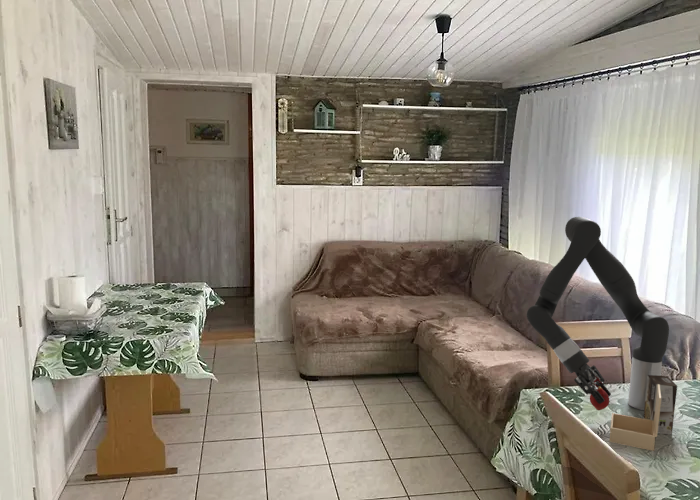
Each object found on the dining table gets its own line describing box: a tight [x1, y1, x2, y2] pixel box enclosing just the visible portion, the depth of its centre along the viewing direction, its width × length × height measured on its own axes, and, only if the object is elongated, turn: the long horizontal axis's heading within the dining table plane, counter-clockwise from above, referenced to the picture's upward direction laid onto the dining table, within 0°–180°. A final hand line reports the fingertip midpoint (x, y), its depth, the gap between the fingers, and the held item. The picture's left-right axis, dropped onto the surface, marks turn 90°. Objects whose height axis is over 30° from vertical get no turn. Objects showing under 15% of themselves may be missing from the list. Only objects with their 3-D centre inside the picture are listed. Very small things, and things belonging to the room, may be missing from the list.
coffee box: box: [642, 375, 678, 436], centre depth 185 cm, size 9×6×16 cm
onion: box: [589, 387, 610, 411], centre depth 187 cm, size 6×6×8 cm
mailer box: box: [609, 384, 661, 452], centre depth 177 cm, size 12×12×16 cm
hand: (605, 399), depth 186 cm, fingers closed on onion, 5 cm apart
